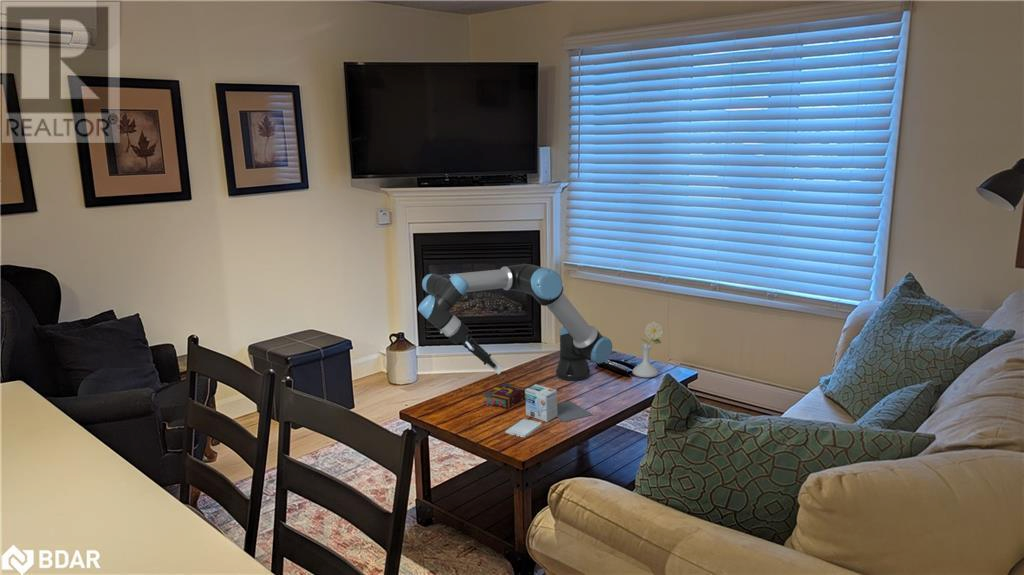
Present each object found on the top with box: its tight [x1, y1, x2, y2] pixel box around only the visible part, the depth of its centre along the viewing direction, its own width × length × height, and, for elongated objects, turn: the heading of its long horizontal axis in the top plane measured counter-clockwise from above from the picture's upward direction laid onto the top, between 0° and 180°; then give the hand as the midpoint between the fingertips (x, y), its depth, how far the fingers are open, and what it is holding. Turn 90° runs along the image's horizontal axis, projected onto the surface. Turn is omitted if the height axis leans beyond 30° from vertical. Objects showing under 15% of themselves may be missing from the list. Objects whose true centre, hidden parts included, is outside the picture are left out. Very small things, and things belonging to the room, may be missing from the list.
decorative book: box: [483, 382, 528, 410], centre depth 278 cm, size 11×16×5 cm
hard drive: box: [504, 418, 543, 439], centre depth 252 cm, size 2×8×12 cm
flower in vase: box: [631, 321, 664, 379], centre depth 304 cm, size 13×11×25 cm
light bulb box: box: [525, 383, 558, 423], centre depth 262 cm, size 11×7×11 cm, turn 48°
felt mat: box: [556, 400, 594, 423], centre depth 268 cm, size 13×16×1 cm
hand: (500, 371), depth 256 cm, fingers closed
